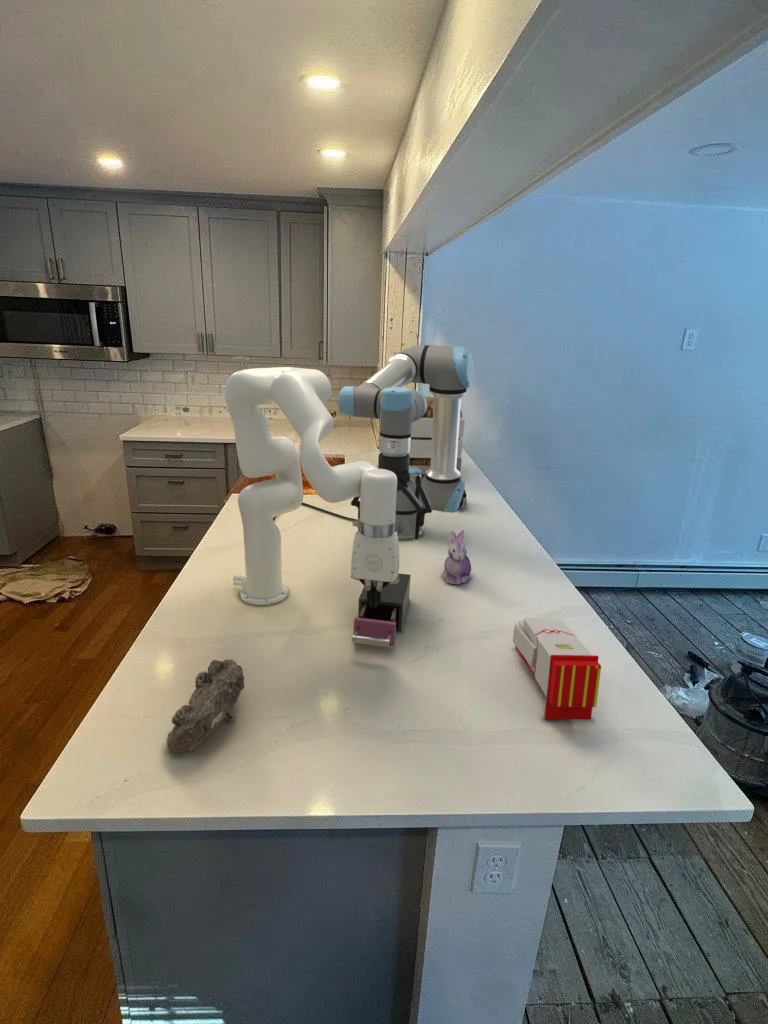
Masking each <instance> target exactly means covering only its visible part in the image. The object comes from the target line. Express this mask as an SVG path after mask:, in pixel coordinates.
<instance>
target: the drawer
mask: <svg viewBox="0 0 768 1024" xmlns="http://www.w3.org/2000/svg"><path fill="white" fill-rule="evenodd" d="M398 618H399V606H391V605H382V604H377V607H373V606H372V607H369V603H365V602H364V605H363V607H362V610H361V613H360V615H359V618H358V616H354V619H353V634H352V635H351V643H358V644H366V645H373V646H380V647H381V646H382V647H390V648H391V647H392V648H395V645H396V634H397V633H396V632H397V631H396V625H397V621H398Z"/></svg>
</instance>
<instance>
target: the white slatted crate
mask: <svg viewBox="0 0 768 1024" xmlns="http://www.w3.org/2000/svg"><path fill="white" fill-rule="evenodd" d="M425 397H426V400H427V410H426V412H425V414H424V415H423V416H422V417H421V418H420V419H419V420H417V421H414V422H412V426H411V444H410V452H409V453H408V454H409V456H410V460H409V467H417V466H418V467H430V465H431V444H432V424H433V404H434V396H425ZM464 429H465V419H464V418H463V411H462V408H460V422H459V436H458V450H457V464H456V469H457V470H458V471H459V472H460V475H461V472H462V461H463V460H462V453H463V442H464V441H463V440H462V439H463V438H464V431H465V430H464Z"/></svg>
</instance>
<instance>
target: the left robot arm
mask: <svg viewBox="0 0 768 1024" xmlns="http://www.w3.org/2000/svg"><path fill="white" fill-rule="evenodd" d="M331 396H332V384H331V382H330V380H329V378H328V376H327V375H326V374H325V373H324V372H323V371H321V370H319V369H316V368H303V367H291V366H276V367H256V368H246V369H241V370H238V371H236V372H235V371H234V373H232V374H231V375H230V376H229V377H228V378H227V380H226V384H225V387H224V399H225V404H226V407H227V410H228V413H229V416H230V418H231V421H232V425H233V430H234V431H233V432H234V439H235V446H236V453H237V460H238V466H239V469H240V472H241V473H242V475H244V477H246V478H249V479H256V478H262V477H268V476H272V475H274V476H275V478H271V479H266V480H262V481H259V482H255V483H252V484H249V485H247V486H245V487H244V488H242V489H241V491H240V492H239V494H238V497H237V504H238V509H239V513H240V518H241V522H242V530H243V546H244V547H243V548H244V549H243V550H244V571H245V575H244V576H243V575H239V574H235V575H233V577H232V580H233V584H232V585H233V586H235V587H241V590H240V593H239V594H240V598H241V600H242V601H243V602H245V603H247V604H250V605H253V606H268V605H273V604H277V603H280V602H282V601H283V600H284V599H286V598H287V596H288V593H289V588H288V587H287V586H286V584H284V583H283V571H282V570H283V569H282V568H283V567H282V566H283V565H282V563H283V562H282V534H281V530H280V528H279V527H278V525H277V523H275V520H274V521H273V518H274V517H276V518H277V517H278V516H281V515H284V514H287V513H291V512H293V511H296V510H298V509H299V508H300V507H301V506H302V502H303V503H304V485H303V477H302V474H303V475H304V477H305V479H306V480H307V482H308V483H309V484H310V486H311V487H312V489H313V491H314V492H315V493H316V494H317V496H318V497H320V498H321V499H322V500H323V501H325V502H327V503H330V504H338V503H340V502H344V501H347V500H351V499H353V498H354V497H360V498H359V501H360V519H359V520H353V521H352V527H356V528H357V529H358V530H357V531H356V532H355V535H354V538H353V542H352V550H351V558H350V561H351V563H350V579H352V580H355V581H357V582H358V581H359V582H360V583H361V584H362V585H363V587H364V586H365V587H366V590H367V601H369V607H372V606H373V607H377V604H378V602H379V603H380V602H381V593H382V589H383V588H384V587H386V586H387V585H388V584H397V583H399V574H400V573H399V570H400V544H399V543H400V542H399V540H398V536H397V533H396V532H395V514H396V495H397V477H396V475H395V473H393V472H392V471H389V470H385V469H379V468H378V466H376V465H373V464H372V463H370V462H368V461H365V460H354V461H351V462H346V463H341V464H338V465H333V466H331V464H330V463H329V461H328V460H327V459H326V457H325V456H324V454H323V452H322V450H321V446H320V442H321V441H323V440H324V439H326V437H327V436H328V435H329V434H330V433H331V431H332V430H333V428H334V424H335V420H334V417H333V416H332V414H331V413H330V412H329V410H328V409H327V407H326V406H325V404H326V403H327V402H329V400H330V399H331ZM271 404H277V406H278V407H279V409H280V410H281V412H282V413H283V415H284V416H285V418H286V419H287V420H288V422H289V424H290V425H291V426H292V428H293V430H294V431H295V432H296V434H297V435H298V437H299V438H300V445H299V450H298V448H297V446H296V444H295V442H294V441H293V440H292V439H291V438H289V437H288V436H285V435H274V436H271V433H270V425H269V421H268V419H267V417H266V415H265V414H264V412H263V411H262V409H261V408H260V407H259V405H271ZM398 573H399V574H398ZM373 580H375V581H378V583H377V585H376V587H375V585H374V584H373Z"/></svg>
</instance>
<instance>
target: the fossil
mask: <svg viewBox="0 0 768 1024" xmlns="http://www.w3.org/2000/svg"><path fill="white" fill-rule="evenodd" d="M243 670H244V669H243V667H242V665H240V664H237V662H236V661H235V660H234V659H232V658H231V659H227V658H226V659H224V660H223V661H222V660H217V659H212V660H211V661H210V663H209V665H208V666H207V671H201V672H199V673H198V674H197V675H196V676H195V680H194V684H195V685H194V687H195V689H194V690H193V693H192V694H191V697H190V698H189V700H188V704H184V705H182V706H181V707H180V709H177V710H176V711H175V713H174V715H173V716H172V718H171V723H172V724H173V727H172V730H171V731H170V732H168V734H167V738H166V741H167V742H166V745H167V749H168V750H169V751H173V752H174V753H176V754H178V753H182V752H188V751H189V752H192V751H193V750H195V748H196V747H197V746H199V744H200V743H201V742H203V741H204V740H205V739H206V738H207V737H208V736H209V735H210V734H211V733H212V732H214V730H215V729H217V727H218V726H219V724H220V722H221V721H222V720H223V719H224V718H225V716H226V717H227V719H229V720H233V717H232V715H230V714H229V710H230V709H231V708H234V706H235V704H236V703H237V702H238V699H239V697H240V695H241V693H242V691H243V690H245V689H244V688H245V675H244V671H243Z"/></svg>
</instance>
